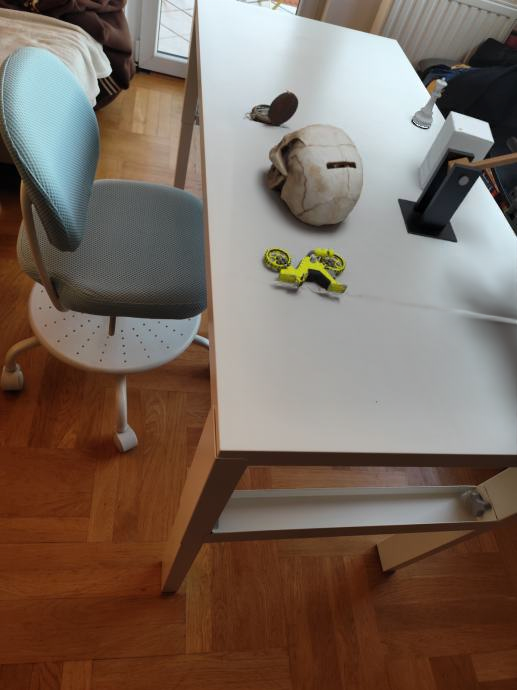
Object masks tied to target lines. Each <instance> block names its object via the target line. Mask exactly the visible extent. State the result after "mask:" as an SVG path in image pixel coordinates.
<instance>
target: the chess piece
mask: <svg viewBox="0 0 517 690" xmlns="http://www.w3.org/2000/svg"><path fill="white" fill-rule="evenodd" d="M445 80H446V78H445V77H442V78H441V79H440V78H439V79H436V81H435V83H436V84H435V85H436V86H435V88H434V89H431V90H430V94H429V95H431V96H430V98H429V99H428V101H427V103H426V104H425V105H424V106H423V107H421V108H420V110H418V111H416V112H415V113H414V115H413V116H412V118H413V121H414V122H415V123H416V124H418V125H420V126H424V127H429V126H430V127H431V126H432V124H433V122H434V119H433V118H434V117H433V115H434V111H433V110H434V107H435V104H436V102H437V99H439V98H441V97H442V90H443V89H444V88H446V87H447V86H448V83H447V82H446V81H445Z"/></svg>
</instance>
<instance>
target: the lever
mask: <svg viewBox="0 0 517 690" xmlns="http://www.w3.org/2000/svg"><path fill="white" fill-rule="evenodd" d="M506 145H507V146H508V148H509V150H510V151H511V153H508V154H505V155H500V156H495V157H491V158H486V159H485V158H484V159H483V160H480V161H476V162H471V163H469V161H468V159H467V157H466V158H462V159H457V160H452V161H448V172H447V175H448V173H449V171H450V170H451V168H452V166H453V165H454V163H459V164H463V165H468V166H472V167H477V168H481V170H482V171H483V170H488V169H492V168H496V167H497V168H498V167H501V166H506V165H510V164H515V163H517V138H516V137H515V136H511V137H509V138H508V139H507V140H506Z"/></svg>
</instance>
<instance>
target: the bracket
mask: <svg viewBox="0 0 517 690" xmlns="http://www.w3.org/2000/svg"><path fill="white" fill-rule="evenodd" d="M466 157H467V159H468V161H469V163H471V162H472V161H473V159H474V158H475V156H474V154H473V153H468V152H464V151H460V150H455V149H451V148H448V149H447V151H446V153H445V154H444V156H443V158H442V159H441V161H440V163H439V165H438V166H437V168H436V170H435V171H434V173H433V175H432V176H431V178H430V180H429V181H428V183H427V185H426V187H425V188H424V190H422V192H421V193H420V195H419V197H418V198H417V200H416V201H414V200H408V199H404V198H398V199H397V202H398V206H399V209H400V212H401V216H402V219H403V222H404V226H405V229H406V232H407V234H409V235H414V236H420V237H425V238H429V239H436V240H441V241H446V242H450V243H451V242H452V243H456V244H457V243H458V238H457V235H456V233H455V231H454V228H453V225H452V223H451V220H452V218H453V216H454V215H455V213H456V212H457V211H458V209H459V208H460V206H461V204H462V203H463V201H464V200H465V199H466V197H467V196H468V194H469V193H470V191H471V190H472V188H473V187H474V185H475V184H476V183H477V181H478V180H479V178H480V177H481V175H482V174H483V170H481V168H477V167H472V166H468V165H463V164H459V163H454V165H453V166H452V168H451V170H450V171H449V173H448V175H447V172H448V161H452V160H457V159H462V158H466Z"/></svg>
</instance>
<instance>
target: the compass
mask: <svg viewBox="0 0 517 690" xmlns="http://www.w3.org/2000/svg"><path fill="white" fill-rule="evenodd" d="M298 108H299V99H298V96H296V94H295V93H293V92H291V91H289V90H288V89H286V92H283V93H280V94H279V95H277V96H276V97H275V98H274V99H273V100H272V101H271V103H270V104H265V103H262V104H258V105H255V106H253V108H252V109H251V112H246V113H244V116H245V117H246V118H247V119H249V120H250V119H254V121H256V122H257V123H259V124H264V125H269V126H273V127H276V126H279V125H283V124H285V123H287V122H289V121H290V120H291V119H292V117H294V115H295V114H296V112H297V110H298ZM248 115H250V116H251V117H249V116H248Z"/></svg>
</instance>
